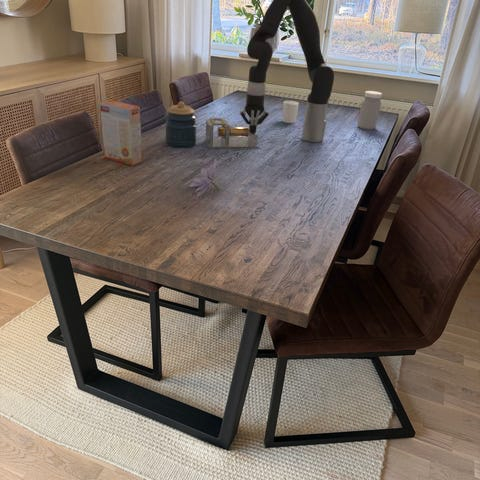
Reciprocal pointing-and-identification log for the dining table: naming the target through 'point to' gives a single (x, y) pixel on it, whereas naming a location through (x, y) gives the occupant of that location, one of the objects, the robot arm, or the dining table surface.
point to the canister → (180, 126)
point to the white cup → (290, 111)
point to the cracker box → (121, 132)
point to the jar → (369, 110)
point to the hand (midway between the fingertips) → (252, 133)
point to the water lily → (206, 178)
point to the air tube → (234, 132)
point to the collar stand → (227, 137)
